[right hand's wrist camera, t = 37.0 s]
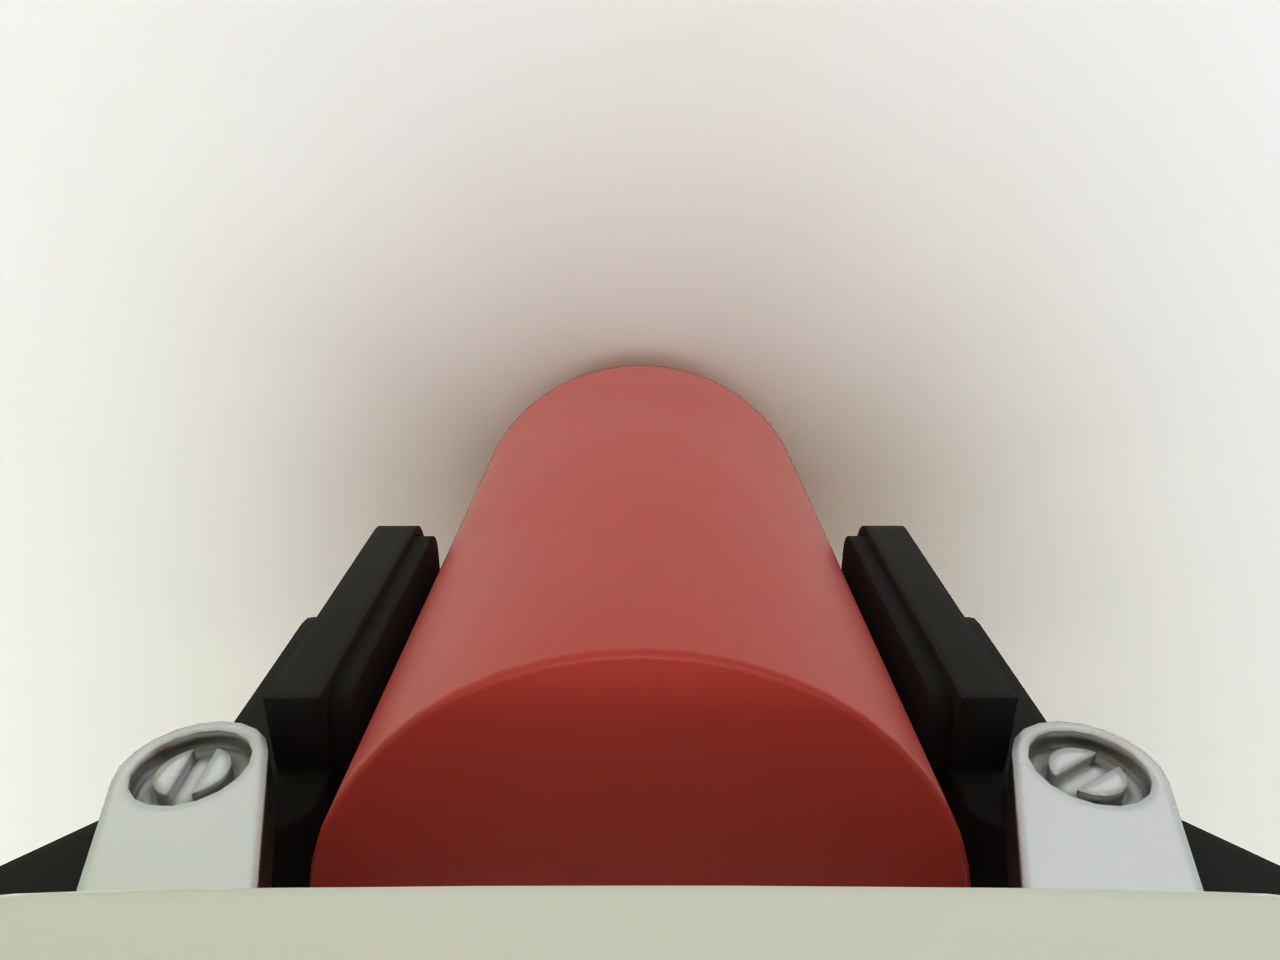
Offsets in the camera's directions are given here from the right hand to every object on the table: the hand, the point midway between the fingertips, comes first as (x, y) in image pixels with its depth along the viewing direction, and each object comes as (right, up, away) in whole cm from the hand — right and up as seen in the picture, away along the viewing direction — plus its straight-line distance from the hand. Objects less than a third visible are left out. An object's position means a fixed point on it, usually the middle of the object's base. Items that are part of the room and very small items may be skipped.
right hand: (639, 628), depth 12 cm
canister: (0, +1, +3) cm, 3 cm away
